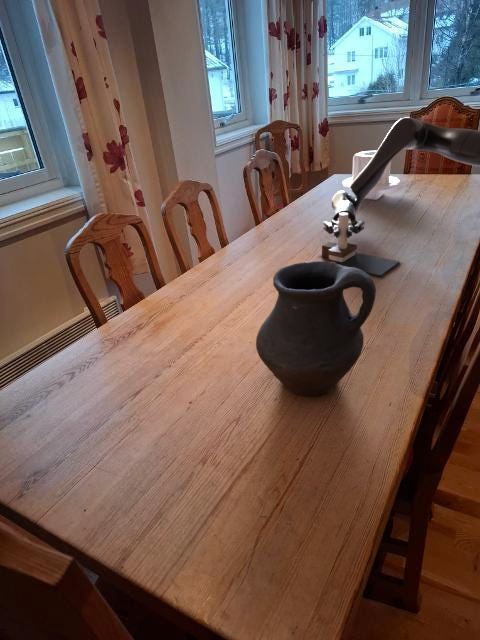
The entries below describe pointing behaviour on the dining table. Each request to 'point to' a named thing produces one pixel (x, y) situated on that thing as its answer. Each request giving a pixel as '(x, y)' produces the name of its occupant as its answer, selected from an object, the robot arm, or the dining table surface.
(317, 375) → the pitcher
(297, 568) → the dining table surface
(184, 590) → the dining table surface
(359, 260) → the mat
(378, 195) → the flanged gear
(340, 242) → the tall white pillar
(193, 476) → the dining table surface
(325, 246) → the brown cube
